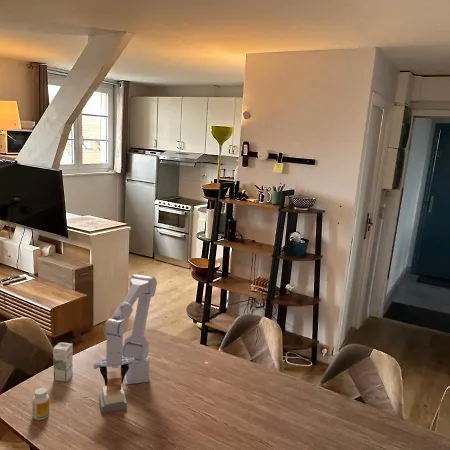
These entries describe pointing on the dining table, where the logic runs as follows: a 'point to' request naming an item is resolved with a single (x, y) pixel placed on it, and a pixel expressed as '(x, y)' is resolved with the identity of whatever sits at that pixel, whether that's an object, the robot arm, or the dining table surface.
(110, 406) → the bottom slab
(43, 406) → the supplement bottle
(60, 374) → the syrup box
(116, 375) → the terracotta cube
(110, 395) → the top slab
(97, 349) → the dining table surface
